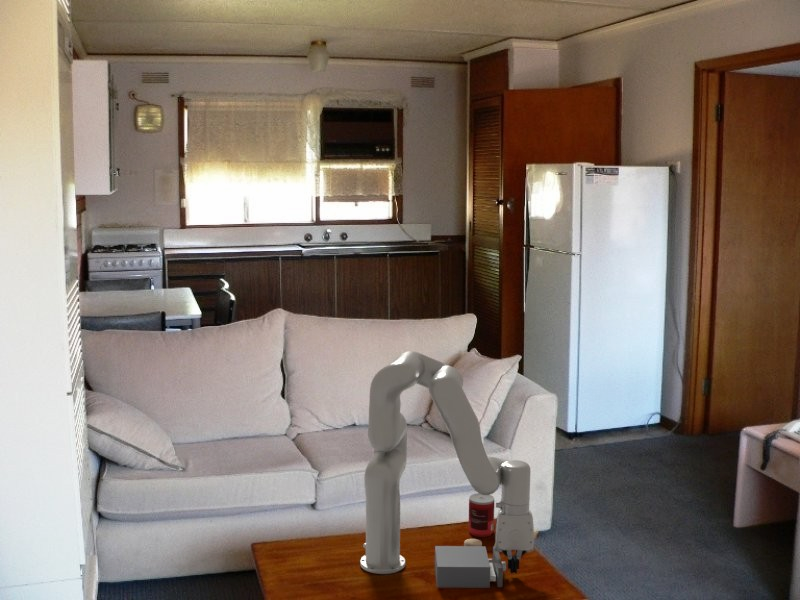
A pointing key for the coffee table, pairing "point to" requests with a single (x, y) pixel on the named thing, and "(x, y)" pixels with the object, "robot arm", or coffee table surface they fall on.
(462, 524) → the coffee table surface
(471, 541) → the beige rounded lump
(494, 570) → the drawer
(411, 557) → the coffee table surface
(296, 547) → the coffee table surface
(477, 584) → the housing
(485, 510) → the canned food
